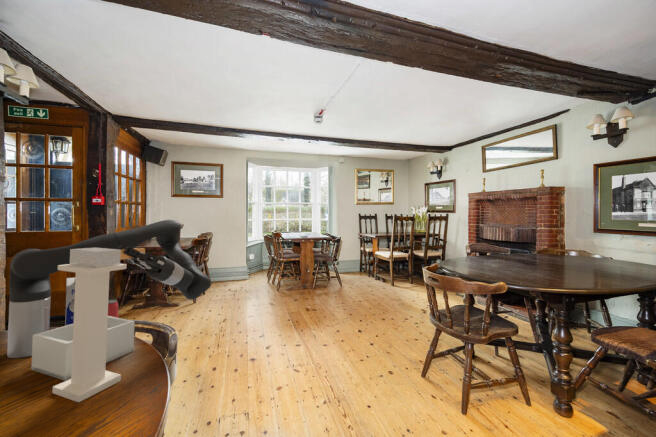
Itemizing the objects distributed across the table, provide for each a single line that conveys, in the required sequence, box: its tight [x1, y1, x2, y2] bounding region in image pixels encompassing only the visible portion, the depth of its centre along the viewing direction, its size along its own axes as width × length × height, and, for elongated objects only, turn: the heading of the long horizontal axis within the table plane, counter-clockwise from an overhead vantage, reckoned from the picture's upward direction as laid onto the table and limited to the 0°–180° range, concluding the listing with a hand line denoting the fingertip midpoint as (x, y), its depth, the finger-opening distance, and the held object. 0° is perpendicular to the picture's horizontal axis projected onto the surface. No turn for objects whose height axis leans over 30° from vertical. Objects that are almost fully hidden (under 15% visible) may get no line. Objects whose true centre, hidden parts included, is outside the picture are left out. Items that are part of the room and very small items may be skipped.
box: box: [30, 316, 136, 382], centre depth 88 cm, size 15×19×10 cm
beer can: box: [108, 298, 119, 318], centre depth 108 cm, size 7×7×12 cm
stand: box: [51, 263, 128, 403], centre depth 74 cm, size 12×10×32 cm
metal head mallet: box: [70, 247, 146, 268], centre depth 80 cm, size 10×16×4 cm, turn 161°
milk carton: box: [64, 277, 75, 326], centre depth 111 cm, size 7×7×20 cm
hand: (122, 249), depth 81 cm, fingers closed on metal head mallet, 2 cm apart
